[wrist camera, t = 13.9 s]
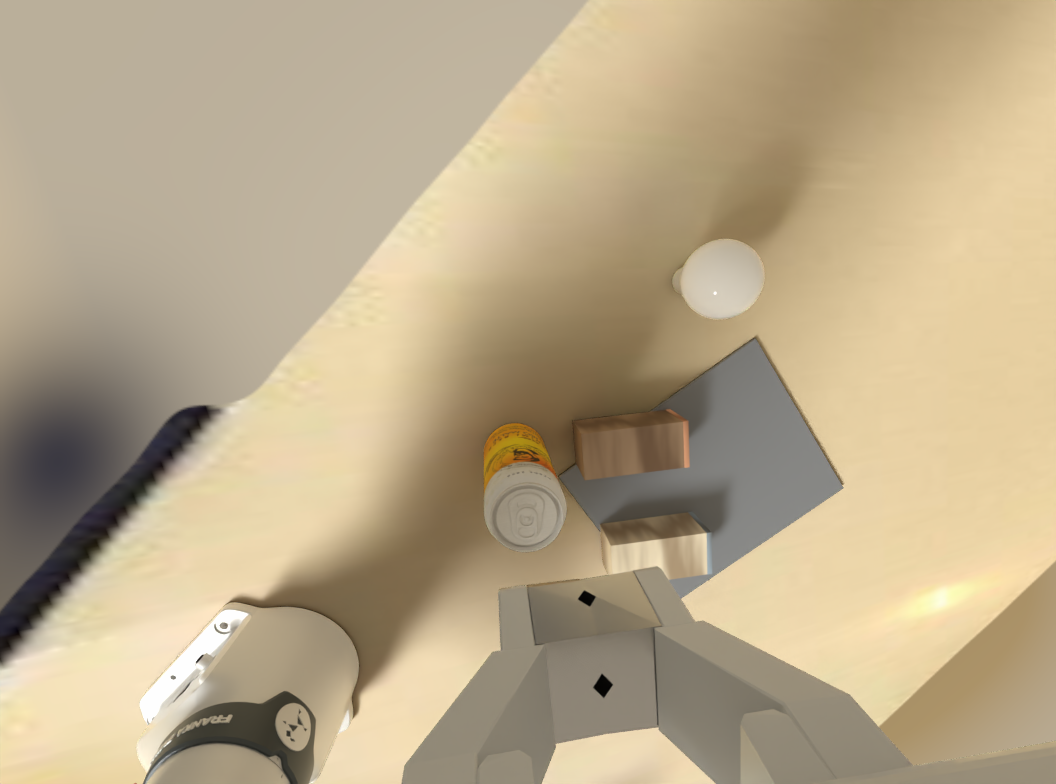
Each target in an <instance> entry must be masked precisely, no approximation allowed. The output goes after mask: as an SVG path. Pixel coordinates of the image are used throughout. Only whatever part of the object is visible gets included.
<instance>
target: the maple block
mask: <svg viewBox="0 0 1056 784" xmlns="http://www.w3.org/2000/svg"><path fill="white" fill-rule="evenodd" d="M600 531H601V545H602V560H603V564H604V567H605V569H606V571H607V574H608V575H611V574H617V573H623V572H630V571H633V570H639V569H644V568H650V567H655V566H657V567H659V568H661V569H662V571H663V572H664V574H665V575H666V577H667V578H668V580H671V579H678V578H685V577H692V576H699V575H706V574H707V575H708V574H712V532H711V531H710V530H709V529H708V528H707V527H706V526H705V525H704V523H703V522H702V521H701V520H700V519H699V518H698V517H697V516H696V515H695V514H694V513H693V512H687V513H679V514H672V515H664V516H656V517H649V518H641V519H634V520H626V521H618V522H611V523H603V524H600Z"/></svg>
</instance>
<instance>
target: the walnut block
mask: <svg viewBox="0 0 1056 784" xmlns="http://www.w3.org/2000/svg"><path fill="white" fill-rule="evenodd" d="M573 433H574V445H575V458H576V464H577V466H578V468H579V470H580V472H581V474H582V476H583V478H584V480H591V479H599V478H607V477H615V476H623V475H631V474H639V473H647V472H655V471H663V470H670V469H678V468H688V467H690V460H689V424H688V420H686V419H685V418H683V417H682V416H680V415H679V414H677V413H676V412H674V411H672V410H671V409H666V410H660V411H651V412H643V413H634V414H626V415H618V416H609V417H601V418H592V419H584V420H575V421H573Z"/></svg>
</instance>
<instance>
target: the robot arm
mask: <svg viewBox="0 0 1056 784" xmlns="http://www.w3.org/2000/svg"><path fill="white" fill-rule="evenodd" d="M498 600H499V621H500V643H501V651H495V652H492V653H491V655H490V656H489V657H488V658H487V660H486V661H485V662H484V664H483V665H482V666H481V668H480V669H479V670H478V671H477V673H476V674H475V675H474V677H473V678H472V679H471V680H470V682H469V683H468V684H467V686H466V687H465V688H464V689H463V691H462V692H461V693H460V695H459V696H458V697H457V698H456V700H455V701H454V702H453V704H452V705H451V706H450V708H449V709H448V710H447V711H446V713H445V714H444V715H443V717H442V718H441V719H440V720H439V722H438V723H437V724H436V726H435V727H434V728H433V729H432V731H431V732H430V733H429V735H428V736H427V737H426V738H425V740H424V741H423V742H422V744H421V745H420V746H419V748H418V749H417V750H416V751H415V753H414V754H413V755H412V757H411V758H410V759H409V760H408V762H407V763H406V764H405V766H404V772H403V778H402V784H542V781H543V778H544V776H545V773H546V771H547V768H548V766H549V763H550V761H551V758H552V756H553V753H554V750H555V748H556V745H555V744H557V743H562V742H567V741H572V740H577V739H582V738H588V737H593V736H598V735H603V734H609V733H617V732H625V731H633V730H640V729H648V728H656V727H659V730H660V731H661V732H662V733H663V734H664V735H665V736H666V737H667V738H668V739H669V740H670V741H671V742H672V743H673V744H674V745H675V746H677V747H678V748H679V749H680V750H681V751H682V752H683V753H684V754H685V755H686V756H687V757H688V758H689V759H690V760H691V761H692V762H694V763H695V764H696V765H697V766H698V767H699V768H700V769H701V770H702V771H703V772H704V773H705V774H706V775H707V776H708V777H710V778H711V779H712V780H713V781H714V782H715V783H716V784H1056V741H1052V742H1046V743H1041V744H1035V745H1030V746H1024V747H1018V748H1013V749H1007V750H1002V751H996V752H991V753H985V754H979V755H973V756H968V757H962V758H956V759H950V760H944V761H938V762H933V763H927V764H921V765H915V766H913V765H912V764H911V763H910V762H909V760H908V759H907V758H906V757H905V756H904V755H903V754H902V753H901V751H900V750H899V749H898V748H897V747H896V746H895V745H894V744H893V743H892V741H891V740H890V739H889V738H888V737H887V736H886V735H885V734H884V732H882V730H881V729H880V728H879V727H878V726H877V725H876V724H875V722H874V721H873V720H872V719H871V718H870V717H869V716H868V715H867V714H866V712H865V711H864V710H863V709H862V708H861V707H860V706H859V705H858V703H857V702H856V701H855V700H854V699H853V698H852V697H851V696H850V695H849V694H847V693H845V692H843V691H841V690H839V689H837V688H835V687H833V686H831V685H829V684H827V683H825V682H823V681H821V680H819V679H817V678H816V677H814V676H812V675H810V674H808V673H806V672H804V671H802V670H800V669H798V668H796V667H794V666H792V665H790V664H788V663H786V662H784V661H782V660H780V659H778V658H776V657H774V656H772V655H770V654H768V653H766V652H764V651H762V650H760V649H758V648H756V647H754V646H752V645H750V644H748V643H746V642H744V641H743V640H741V639H739V638H737V637H735V636H733V635H731V634H729V633H727V632H725V631H723V630H721V629H719V628H717V627H715V626H713V625H711V624H709V623H707V622H705V621H698V622H695V620H694V619H693V617H692V616H691V614H690V613H689V611H688V609H687V608H686V606H685V605H684V603H683V602H682V600H681V599H680V597H679V595H678V594H677V592H676V591H675V589H674V588H673V586H672V585H671V583H670V581H669V580H668V578H667V577H666V575H665V574H664V572H663V571H662V569H661V568H659V567H657V566H655V567H650V568H644V569H639V570H633V571H630V572H623V573H617V574H611V575H605V576H599V577H592V578H586V579H573V580H565V581H556V582H548V583H539V584H531V585H527V587H526V586H525V585H521V586H515V587H508V588H501V589H499V592H498ZM223 622H226V623H227V624H228V625H226V624H224V623H223ZM358 674H359V661H358V656H357V652H356V649H355V647H354V645H353V643H352V641H351V639H350V638H349V636H348V635H347V634H346V633H345V632H344V630H343V629H342V628H341V627H339V626H338V625H337V624H336V623H335V622H333V621H332V620H330V619H329V618H327V617H325V616H323V615H321V614H319V613H316V612H314V611H310V610H307V609H302V608H296V607H274V608H258V607H255V606H251V605H247V604H243V603H236V602H233V603H228V604H227V605H225V606H224V607H223V608H222V609H221V610H220V611H219V612H218V613H217V614H216V616H215V617H214V618H213V619H212V620H211V621H210V622H209V623H208V624H207V625H206V626H205V628H204V629H203V630H202V631H201V632H200V633H199V634H198V635H197V636H196V637H195V638H194V640H193V641H192V642H191V643H190V644H189V645H188V646H187V647H186V648H185V649H184V650H183V652H182V653H181V654H180V655H179V656H178V657H177V658H176V659H175V660H174V661H173V662H172V663H171V665H170V666H169V667H168V668H167V669H166V670H165V671H164V672H163V673H162V674H161V675H160V677H159V678H158V679H157V680H156V681H155V682H154V683H153V684H152V685H151V686H150V688H149V689H148V690H147V691H146V692H145V694H144V695H143V697H142V698H141V700H140V709H141V712H142V715H143V717H144V720H145V722H146V723H147V725H148V727H147V728H146V729H145V731H144V732H143V733H142V735H141V736H140V738H139V739H138V741H137V755H138V758H139V761H140V763H141V765H142V766H143V768H144V769H145V771H146V772H147V775H146V777H145V780H144V782H143V784H310V783H314V782H315V781H316V780H317V779H318V777H319V776H320V774H321V771H322V769H323V767H324V765H325V762H326V760H327V758H328V755H329V753H330V751H331V748H332V746H333V744H334V741H335V739H336V737H337V734H338V733H341V732H343V731H345V730H346V729H347V728H348V727H349V725H350V723H351V721H352V718H353V705H352V694H353V691H354V688H355V685H356V683H357V679H358ZM135 784H136V783H135Z"/></svg>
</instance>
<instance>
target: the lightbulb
mask: <svg viewBox="0 0 1056 784" xmlns="http://www.w3.org/2000/svg"><path fill="white" fill-rule="evenodd" d="M764 281H765V271H764V266H763V263H762V260H761V258H760V257H759V255H758V254H757V253H756V251H755V250H754V249H753V248H751V247H750V246H749V245H747V244H745V243H743V242H741V241H738V240H734V239H718V240H714V241H710V242H708V243H706V244H704V245H702V246H700V247H699V248H698V249H696V250H695V251H694V252H693V253H692V254H691V255H690V256H689V258H688V259H687V261H686V262H685V264H684V266H683V267H682V268H680V269H678V270H677V271H676V272H675V274H674V275H673V278H672V285H673V288H674V290H675V291H676V292H677V293H678V294H680V295H682V296H683V298H684V300H685V302H686V303H687V305H688V306H689V307H690V308H691V309H692V310H693V311H694V312H696V313H697V314H699V315H701V316H703V317H706V318H710V319H717V320H721V319H729V318H732V317H735V316H738V315H740V314H742V313H743V312H745V311H746V310H748V309H749V308H750V307H751V306H752V305H753V304H754V303H755V302H756V300H757V299H758V297H759V296H760V294H761V292H762V289H763V286H764Z"/></svg>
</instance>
